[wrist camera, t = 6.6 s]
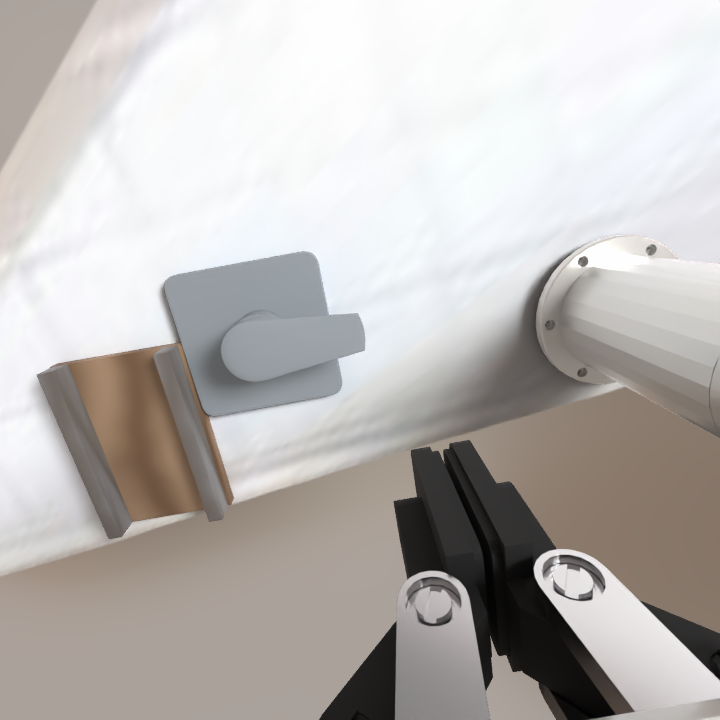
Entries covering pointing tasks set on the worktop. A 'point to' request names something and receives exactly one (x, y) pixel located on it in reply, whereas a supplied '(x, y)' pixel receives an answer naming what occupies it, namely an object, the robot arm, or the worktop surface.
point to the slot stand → (138, 435)
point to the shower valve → (261, 333)
